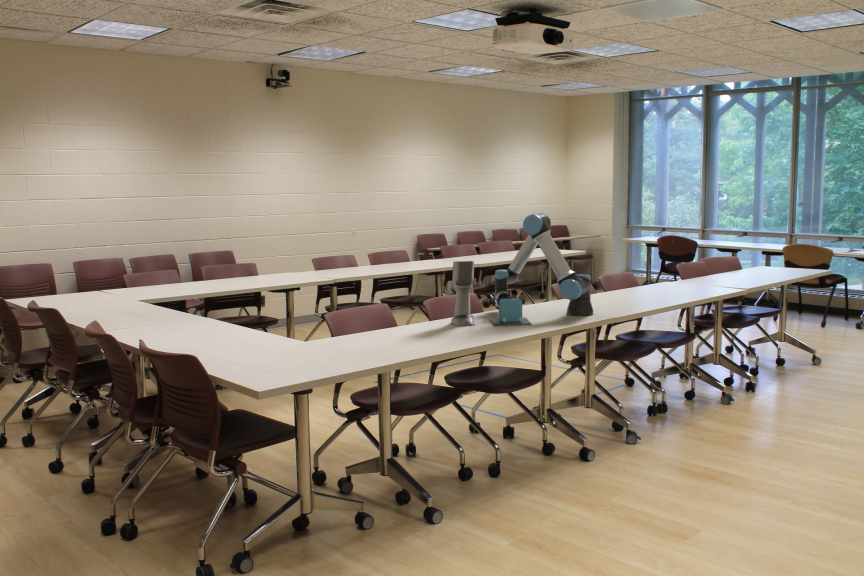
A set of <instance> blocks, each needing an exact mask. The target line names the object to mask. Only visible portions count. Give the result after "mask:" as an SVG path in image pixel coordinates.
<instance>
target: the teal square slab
mask: <svg viewBox="0 0 864 576" xmlns="http://www.w3.org/2000/svg"><path fill="white" fill-rule="evenodd" d="M520 299H521V298H520ZM520 299H514V298H513V299H501V300H499V304H498V318H499V320H501V321H502V322H503V318H506V322H516V321H519V318H523V304H522V301H521V300H520Z"/></svg>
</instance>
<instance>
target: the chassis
mask: <svg viewBox="0 0 864 576" xmlns="http://www.w3.org/2000/svg"><path fill="white" fill-rule="evenodd" d="M489 321H490V322H491V323H492V325H493V327H509V326H508V325H531V326H532V323H531V321H530V320H529V319H528V318H527V317H522V318H519V321H516V322H506V318H503V322H502V321H501V320H499V317H495V318H493V317H491V318H490V319H489Z"/></svg>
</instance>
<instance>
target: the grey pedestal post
mask: <svg viewBox="0 0 864 576" xmlns="http://www.w3.org/2000/svg"><path fill="white" fill-rule="evenodd" d="M474 273H475V260H465V261H464V260H463V261H462V260H461V261H460V260H456V261H453V264H452V278H451V279H452V280H451V288H452V290H453V291H454V292H455V293H456V294H455V297H456V298H455V304H454V310H453V316H452V318H451V320H450V323H451V324H452V323H453V324H452V325H454V326H456V327H469V326H475V324H476V323H475V317H474V316H473V315H472V314H471V290H472V288H473V285H474V284H473V283H474V278H475V277H474V276H475V274H474Z"/></svg>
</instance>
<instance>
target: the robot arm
mask: <svg viewBox="0 0 864 576" xmlns="http://www.w3.org/2000/svg"><path fill="white" fill-rule="evenodd" d="M551 221H552V220H551V218H550V217H549V215H547V214H545V213H531V214H528V215H527V216H526V217H525V218H524V219H523V223H522V229H523V230H524V233H526V234H527V237H526V239H525V240H524V242H523V243H522V245H521V246H520V247H519V250H518V252H516V255H515V256H514V257H513V260H512V261H511V263H510V265H509V266H508V268H507V269H497V270H495V271H494V272H495V273H494V285H495V286H494V293H493V294H494V297H493V298H491V299H489V300H488V305H489V306H492V307H495V308H497V307H498V305H499V300H501V299H520V300H521V301H522V305H526V299H523V298H518V297H511V295H510V294H509V284H515V283H516V282H518V280H519V275H520V273H521V272H522V271H523V268H524V267H525V265H526V263H527V262H528V260H529V259H530V257H531V256H532V254H533V252H534V251H535V249H536V247H537V246H538V247H539V248H540V249H541V252H542V253H543V255H544V257H545V258H546V260H547V262H548V264H549V265H550V267H551V268H552V270H553V272H554V274H555V275H556V278H557V281H556V283H557V284H558V286H559V293H560V294H561V297H563V298H564V299H565V300H569V303H568V305H567V307H566V308H567V309H566V314H567V315H570V316H592V315H594V308H593V305H592V301H591V294H592V293H591V291H592V290H591V289H592V288H591V287H592V286H591V284H592V282H591V281H592V278H591V275H589V274H577V273H576V271H573V270H572V269H571V268H570V265H569V264H568V263H567V261H566V258H565V257H564V256H563V253H562V252H561V251H560V249H559V247H558V245H557V243H556V242H555V240H554V239H553V237H552V235H551V232H552V230H551V226H552V222H551Z"/></svg>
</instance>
